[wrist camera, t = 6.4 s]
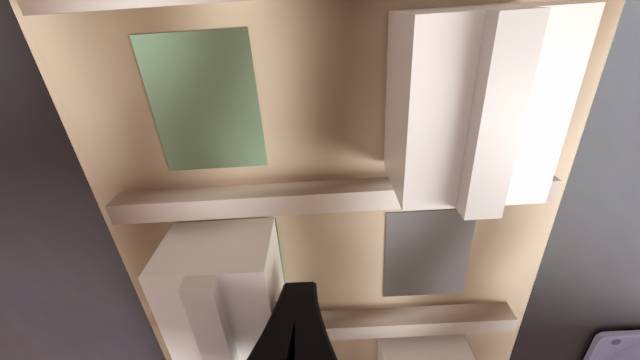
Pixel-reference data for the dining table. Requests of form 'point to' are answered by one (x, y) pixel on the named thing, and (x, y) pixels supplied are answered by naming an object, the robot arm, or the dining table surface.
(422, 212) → the switch board
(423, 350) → the switch knob
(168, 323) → the switch knob
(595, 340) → the robot arm
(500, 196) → the switch knob
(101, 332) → the dining table surface
